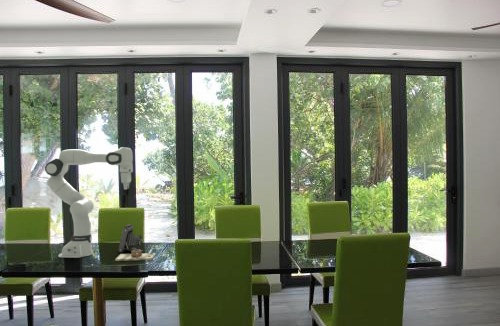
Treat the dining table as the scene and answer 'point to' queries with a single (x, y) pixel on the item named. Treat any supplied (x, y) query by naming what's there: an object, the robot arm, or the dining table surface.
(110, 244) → the dining table surface
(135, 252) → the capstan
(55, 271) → the dining table surface
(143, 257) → the board
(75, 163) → the robot arm
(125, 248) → the camera
